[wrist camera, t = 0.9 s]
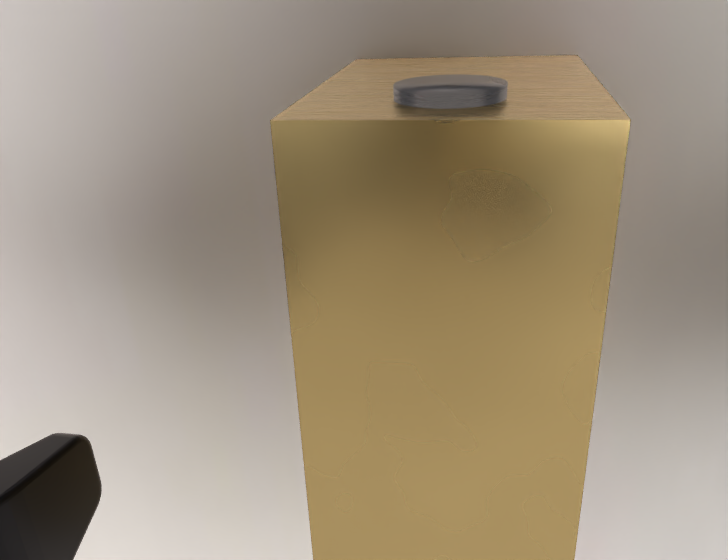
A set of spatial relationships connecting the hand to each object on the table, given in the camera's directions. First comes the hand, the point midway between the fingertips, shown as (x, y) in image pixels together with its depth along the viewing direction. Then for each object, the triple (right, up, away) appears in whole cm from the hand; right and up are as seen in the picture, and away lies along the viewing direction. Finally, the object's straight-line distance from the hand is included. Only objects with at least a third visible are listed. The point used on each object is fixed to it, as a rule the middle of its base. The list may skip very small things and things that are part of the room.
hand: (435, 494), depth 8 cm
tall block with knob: (+1, +3, +7) cm, 8 cm away
